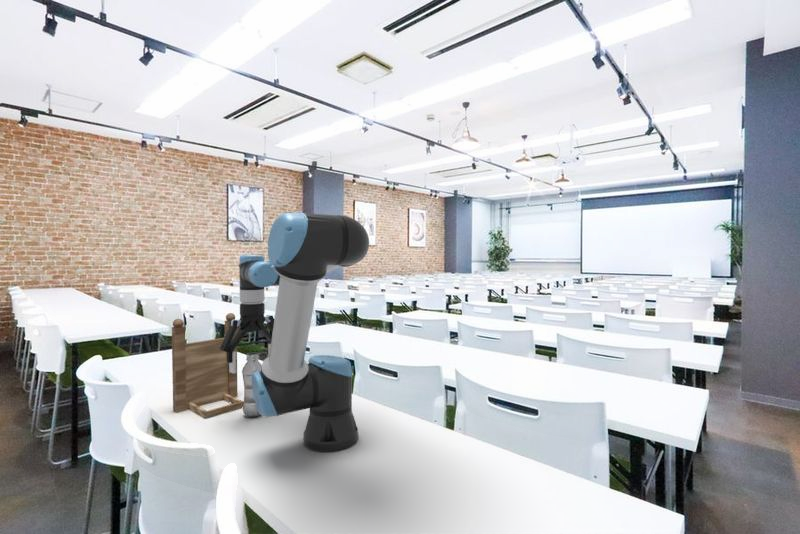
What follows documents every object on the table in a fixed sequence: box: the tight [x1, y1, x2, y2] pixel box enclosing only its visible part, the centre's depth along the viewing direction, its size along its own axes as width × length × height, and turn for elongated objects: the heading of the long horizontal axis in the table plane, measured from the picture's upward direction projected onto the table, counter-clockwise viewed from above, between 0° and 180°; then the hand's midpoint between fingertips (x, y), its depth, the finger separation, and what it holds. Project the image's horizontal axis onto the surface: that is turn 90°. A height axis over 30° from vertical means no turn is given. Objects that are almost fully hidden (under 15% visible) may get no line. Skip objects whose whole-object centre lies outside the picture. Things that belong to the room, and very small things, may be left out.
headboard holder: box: [171, 312, 244, 419], centre depth 140 cm, size 15×21×31 cm
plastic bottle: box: [241, 352, 262, 418], centre depth 133 cm, size 6×7×20 cm
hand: (252, 368), depth 133 cm, fingers open, 13 cm apart
